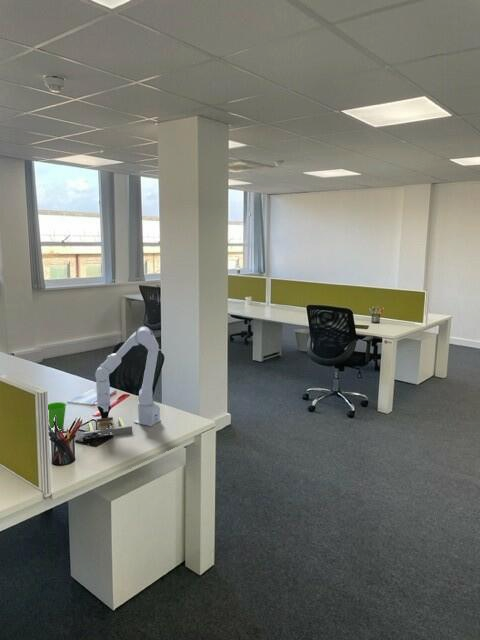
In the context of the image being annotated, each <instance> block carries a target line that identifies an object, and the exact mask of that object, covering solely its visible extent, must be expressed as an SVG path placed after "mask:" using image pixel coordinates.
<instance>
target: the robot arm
mask: <svg viewBox="0 0 480 640" xmlns="http://www.w3.org/2000/svg"><path fill="white" fill-rule="evenodd" d="M140 345H142V346H144V347H145V348H146V350H147V355H146V362H145V369H144V373H143V379H142V380H143V381H142V385H141V387H140V389H139V391H138V400H137V401H138V402H137V416H138V419H136V420H135V421H134V423H135V424H139V425H143V426H148V427H153V426H154V425H156V424H157V423H159V422H161V421H162V419H161V415H160V414H161V413H160V411H161V410H160V407H159V405H157V404H156V403H155V401H154V399H153V394H154V393H153V385H154V379H155V373H156V367H157V361H158V356H159V349H160V348H159V347H160V346H159V343H158V341H157V339H156V337H155V335H154V332H153V331H152V330H151V329H150V328H149V327H147V326H145V325H144V326H140V327H138V329H137V330H136V331H134V332H133V333H132V334H131V335H130V336H129V338H128V339H127V340H126V341H125V342H123V344H122V345H121V346H120V347H119V349H118V350H117V351H116V352H115V353H111V354H108V355H107V356H106V359H105V361H104V362H102V363H100V365H99V366H98V367H97V369H96V371H95V372H94V373H95V374H94V377H95V381H96V401H97V402H96V401H95V402H94V406H96V407H97V410H98V412H99V414H100V419H101V418H108V417H109V413H110V411H111V410H112V406H111V404H112V401H111V388H110V387H111V385H110V375H111V374H112V373H113V372H114V371H115V370H116V369H117V367H118V366H120V364H121V363H122V358H123V357H124V356H125V355H126V354H127V353H128V352H129V351H130V350H131V349H132V348H133V347H135V346H140Z"/></svg>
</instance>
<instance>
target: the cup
mask: <svg viewBox="0 0 480 640" xmlns="http://www.w3.org/2000/svg"><path fill="white" fill-rule="evenodd" d="M47 404H48V410H49V420H48V424H49V428H50V429H51V428H53V427H54V424H53V419H54V417H55V415H56V416H57V426H58V428H59V429H62V430H63V429H64V424H65V418H66V417H65V416H66V414H65V413H66V407H67V403H66V402H63V401H55V402H50V403H47Z"/></svg>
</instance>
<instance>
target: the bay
mask: <svg viewBox="0 0 480 640" xmlns="http://www.w3.org/2000/svg"><path fill="white" fill-rule="evenodd" d="M117 420H118V425H119V426H117V427H115V428H111V429H101V430H99V429H95V430H94V426H93V425H92V421H89V422H90V423H88V422H87V423H88V426H89V427H88V430H90V431H83V438H84V437H85V436H88V435H91V434H93V433H101V434H108V433H109V432H112V434H113V435H114V436H120V435H127V434H128V435H129V434H132V433H133V425H132V424H129V425H125V422H124V421H123V419H122V417H118V419H117Z"/></svg>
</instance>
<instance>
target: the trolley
mask: <svg viewBox="0 0 480 640" xmlns="http://www.w3.org/2000/svg"><path fill="white" fill-rule="evenodd" d="M109 423H112V424H113V425H112V428H115V427H116V424H115V422H114V417H113V416H110V417H109V416H108V418H101V417H100V418H97V419H96V425H98V427H97V428H98V429H97V430H101V429H106V428H107V427H108V424H109Z"/></svg>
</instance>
